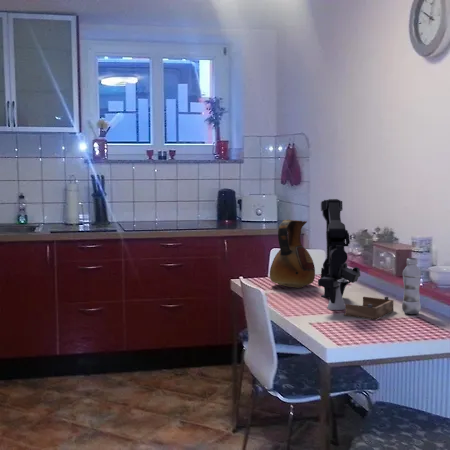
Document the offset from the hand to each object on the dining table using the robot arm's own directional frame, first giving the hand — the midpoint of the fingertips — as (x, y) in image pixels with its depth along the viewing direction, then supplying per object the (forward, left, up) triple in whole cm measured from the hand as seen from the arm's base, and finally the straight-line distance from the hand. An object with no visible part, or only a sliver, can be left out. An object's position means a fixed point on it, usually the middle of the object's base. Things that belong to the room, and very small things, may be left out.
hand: (336, 301), depth 236 cm
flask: (0, 0, -3) cm, 3 cm away
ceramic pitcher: (-28, -35, -3) cm, 45 cm away
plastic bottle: (-7, +26, -3) cm, 27 cm away
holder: (0, +13, -2) cm, 13 cm away
